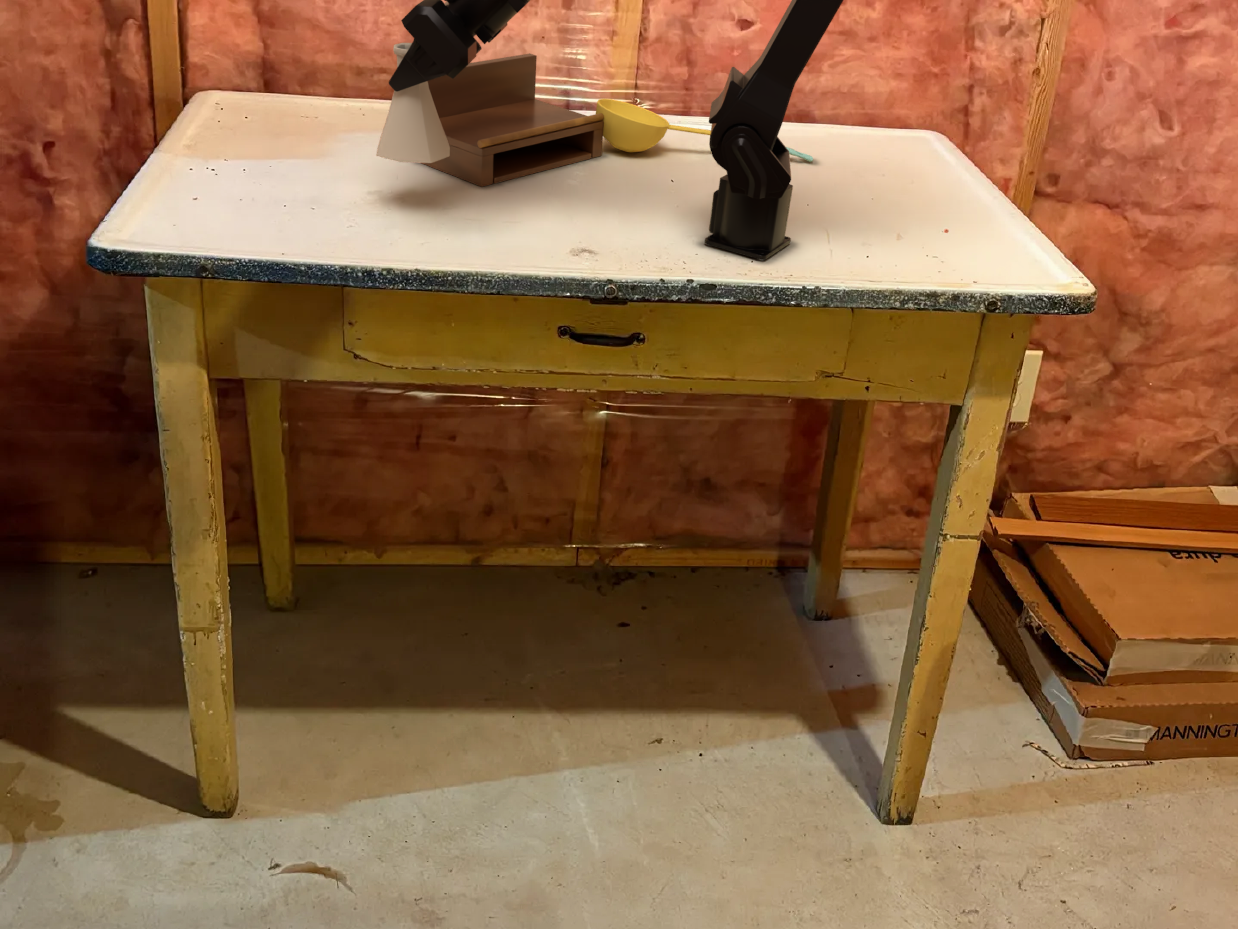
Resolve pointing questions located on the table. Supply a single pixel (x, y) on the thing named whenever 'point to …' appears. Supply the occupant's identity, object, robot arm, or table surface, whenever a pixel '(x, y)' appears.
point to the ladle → (643, 127)
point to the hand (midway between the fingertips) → (397, 82)
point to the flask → (412, 124)
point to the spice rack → (507, 123)
